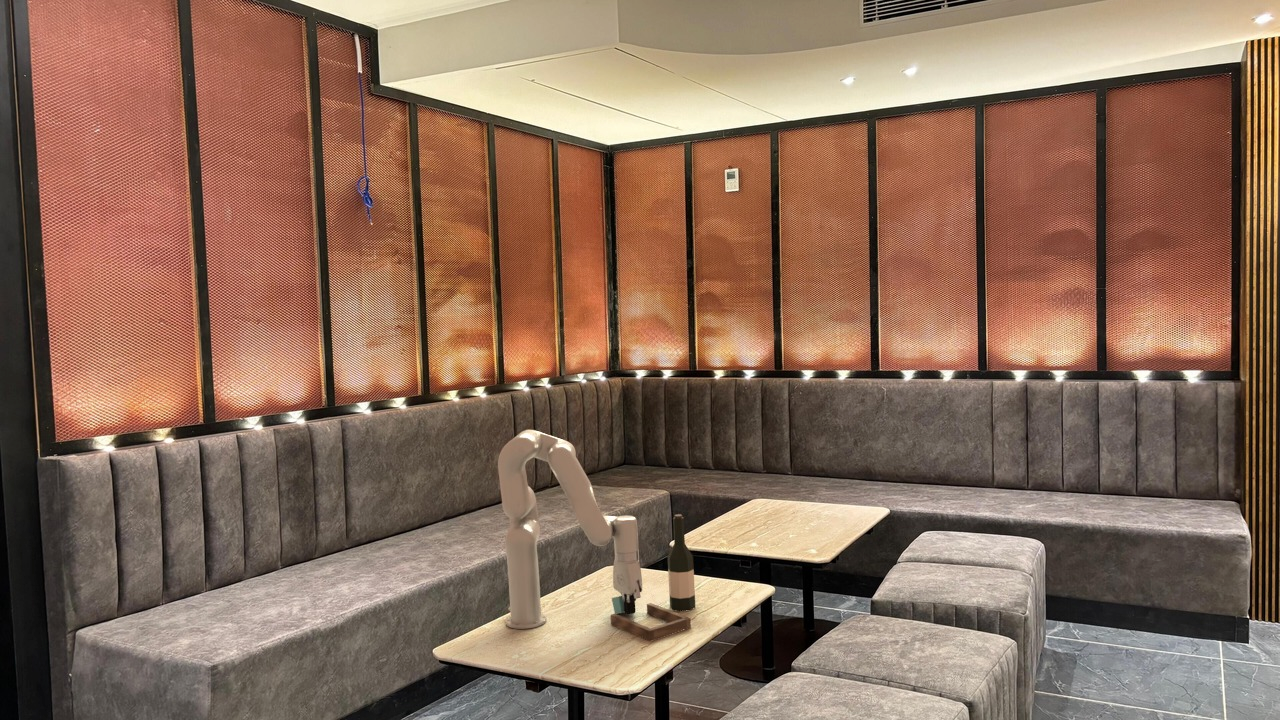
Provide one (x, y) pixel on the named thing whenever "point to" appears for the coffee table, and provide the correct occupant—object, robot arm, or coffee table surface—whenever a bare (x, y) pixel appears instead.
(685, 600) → the wine bottle
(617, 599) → the teal block
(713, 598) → the coffee table surface
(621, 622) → the frame
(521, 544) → the robot arm
